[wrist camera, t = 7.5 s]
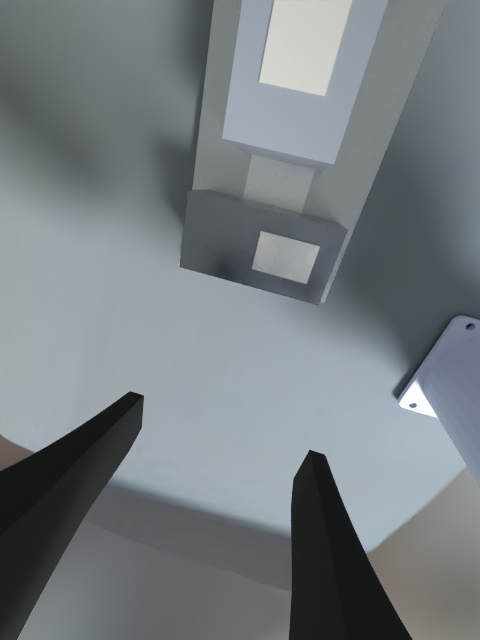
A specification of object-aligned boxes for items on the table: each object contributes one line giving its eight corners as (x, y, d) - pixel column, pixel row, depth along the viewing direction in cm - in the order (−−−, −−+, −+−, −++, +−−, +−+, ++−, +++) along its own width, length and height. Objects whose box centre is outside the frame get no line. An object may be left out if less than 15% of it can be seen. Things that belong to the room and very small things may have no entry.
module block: (382, -14, 11) (437, -145, 7) (323, 171, 15) (334, 164, 10) (278, -33, 12) (266, -170, 7) (243, 152, 15) (220, 137, 10)
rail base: (560, -291, 8) (755, -645, 5) (323, 299, 18) (330, 326, 15) (257, -324, 9) (230, -657, 6) (186, 261, 19) (161, 279, 15)
